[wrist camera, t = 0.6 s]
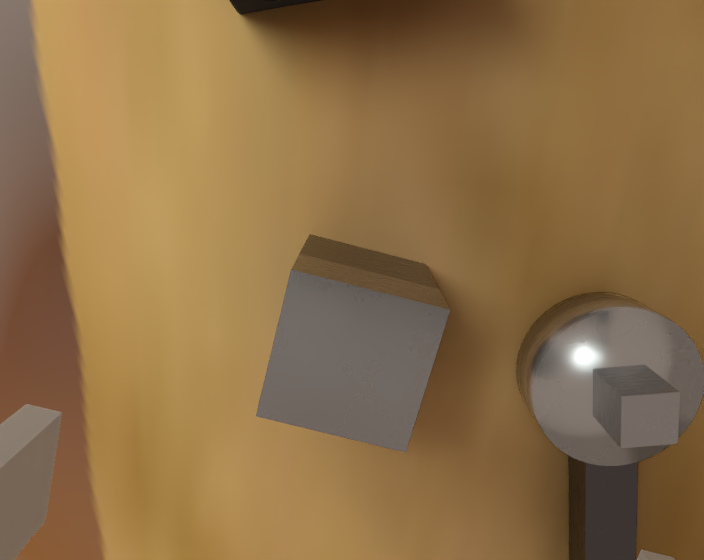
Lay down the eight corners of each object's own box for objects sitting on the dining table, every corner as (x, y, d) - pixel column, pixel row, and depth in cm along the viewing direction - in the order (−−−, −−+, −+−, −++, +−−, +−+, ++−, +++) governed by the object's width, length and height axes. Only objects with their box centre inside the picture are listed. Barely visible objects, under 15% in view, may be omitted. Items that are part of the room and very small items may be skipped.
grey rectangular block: (309, 234, 28) (291, 269, 21) (425, 264, 29) (450, 309, 21) (282, 344, 30) (255, 416, 22) (393, 371, 30) (405, 452, 22)
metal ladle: (514, 299, 29) (553, 339, 23) (673, 285, 29) (753, 321, 23) (523, 623, 34) (557, 724, 28) (660, 614, 33) (724, 714, 28)
